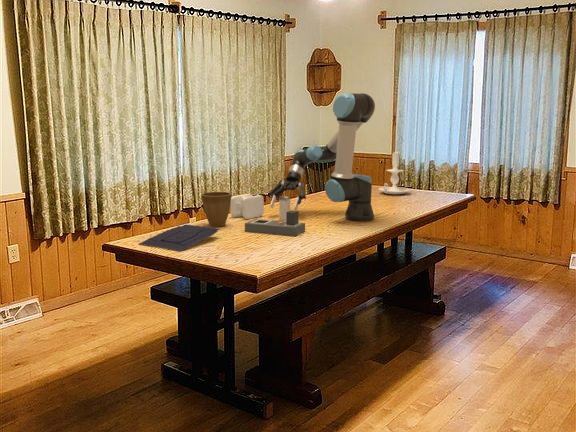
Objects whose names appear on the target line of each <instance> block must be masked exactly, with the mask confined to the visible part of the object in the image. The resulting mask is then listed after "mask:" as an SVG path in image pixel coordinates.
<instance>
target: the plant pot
mask: <svg viewBox="0 0 576 432" xmlns="http://www.w3.org/2000/svg"><path fill="white" fill-rule="evenodd" d="M232 194H233V193H232V192H229V191H228V192H227V191H211V192H204V193H201V194H200V196H201V200H202V201H201V202H202V206H203V211H204V213H205V216H206V219H207V222H208V224H209V226H210V227H211V228H216V227H217V228H220V227H221V228H222V227H224V226H226V223H227V220H228V217H229V212H230V210H231V207H230V203H231V197H232Z"/></svg>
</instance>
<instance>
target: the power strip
mask: <svg viewBox="0 0 576 432" xmlns="http://www.w3.org/2000/svg"><path fill="white" fill-rule="evenodd" d="M244 232H247V233H254V234H255V233H256V234H265V235H266V234H267V235H276V236H277V235H278V236H286V237H287V236H288V237H297V236H299V235H301V234H303V233H304V232H306V222H299V210H290V211H288V212H286V221H284V220H275V219H265V218H264V219H263V218H253V219H252V220H250V221H247V222H245V223H244Z"/></svg>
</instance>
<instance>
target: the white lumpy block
mask: <svg viewBox="0 0 576 432" xmlns="http://www.w3.org/2000/svg"><path fill="white" fill-rule="evenodd" d="M264 200H265V199H264V196H263V195H260V194H259V195H253V194H251V193H243V194H238V195H232V196H231V203H230V216H231V217H233V218H234V217H235V218H240V217H241V216H242V218H244V219H246V220H251V219H252V218H253V219H254V218H256V217H257V218H260V217H262V216H263V215H264V212H265V211H264V203H265V202H264ZM253 219H252V220H253Z"/></svg>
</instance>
